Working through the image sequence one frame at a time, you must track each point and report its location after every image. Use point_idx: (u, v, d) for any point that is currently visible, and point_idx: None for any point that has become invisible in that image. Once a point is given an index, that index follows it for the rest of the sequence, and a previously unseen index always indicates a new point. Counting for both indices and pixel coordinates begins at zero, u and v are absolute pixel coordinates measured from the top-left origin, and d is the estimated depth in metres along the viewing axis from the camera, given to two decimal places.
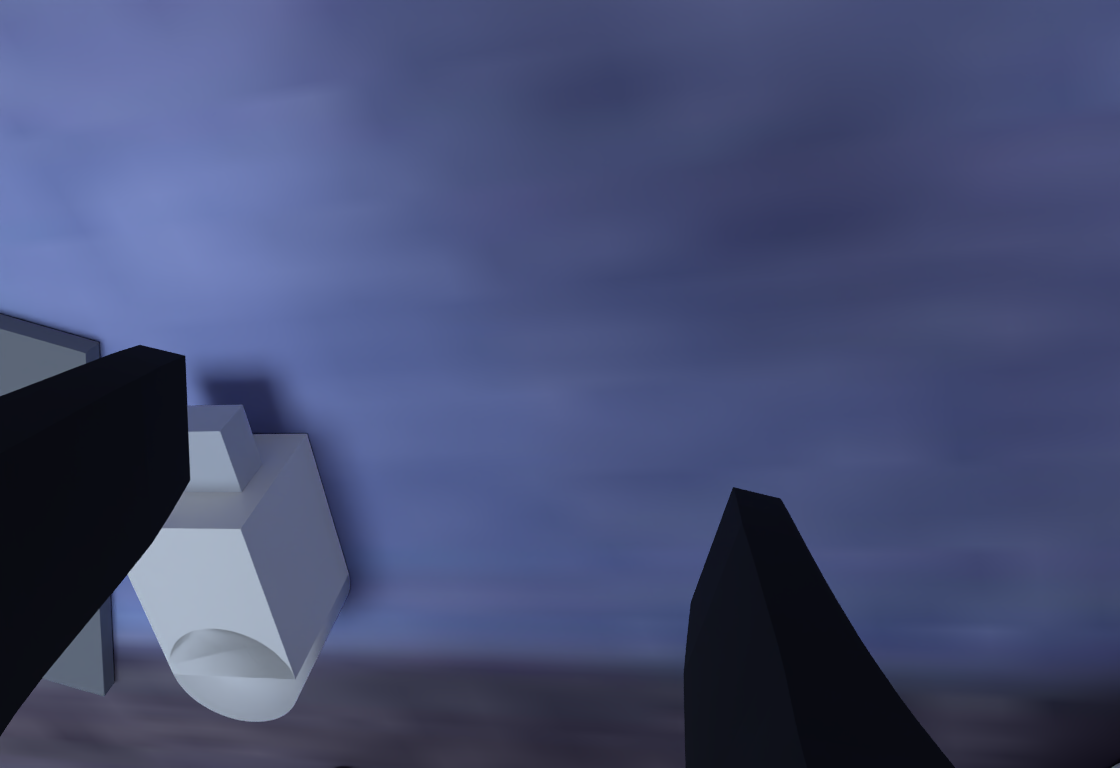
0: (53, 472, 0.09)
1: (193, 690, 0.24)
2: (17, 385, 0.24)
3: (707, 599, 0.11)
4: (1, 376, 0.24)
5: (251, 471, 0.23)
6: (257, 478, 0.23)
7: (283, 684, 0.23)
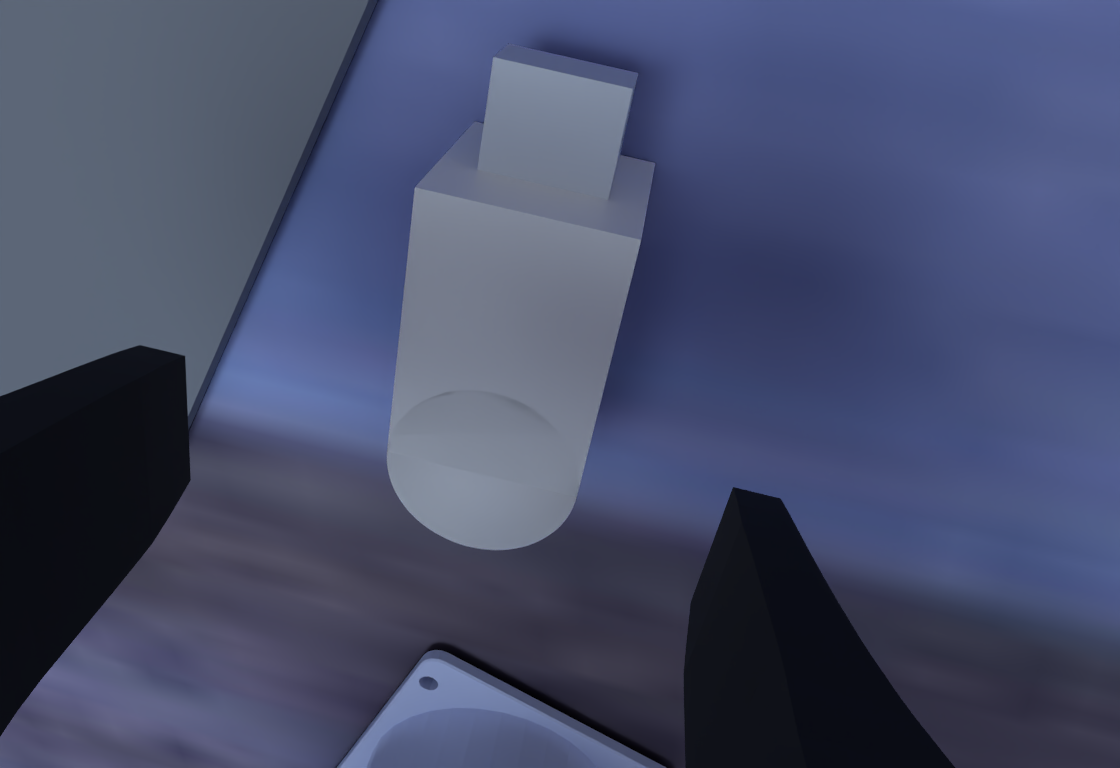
0: (53, 472, 0.09)
1: (404, 482, 0.16)
2: None
3: (707, 599, 0.11)
4: None
5: (614, 178, 0.15)
6: (619, 191, 0.15)
7: (553, 501, 0.16)
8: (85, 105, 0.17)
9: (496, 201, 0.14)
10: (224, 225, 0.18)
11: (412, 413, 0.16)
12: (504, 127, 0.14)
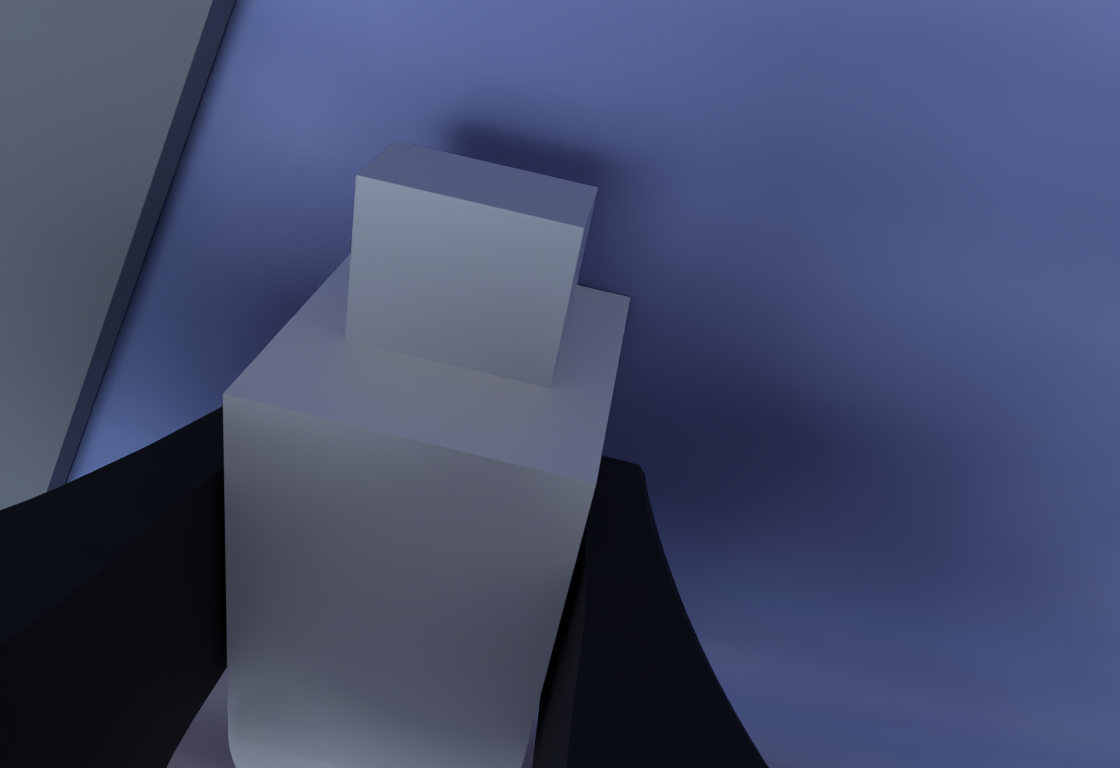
0: (220, 513, 0.09)
1: None
2: (16, 7, 0.10)
3: None
4: None
5: (562, 345, 0.10)
6: (571, 364, 0.10)
7: None
8: None
9: (359, 414, 0.08)
10: (22, 372, 0.13)
11: (259, 693, 0.10)
12: (382, 280, 0.09)
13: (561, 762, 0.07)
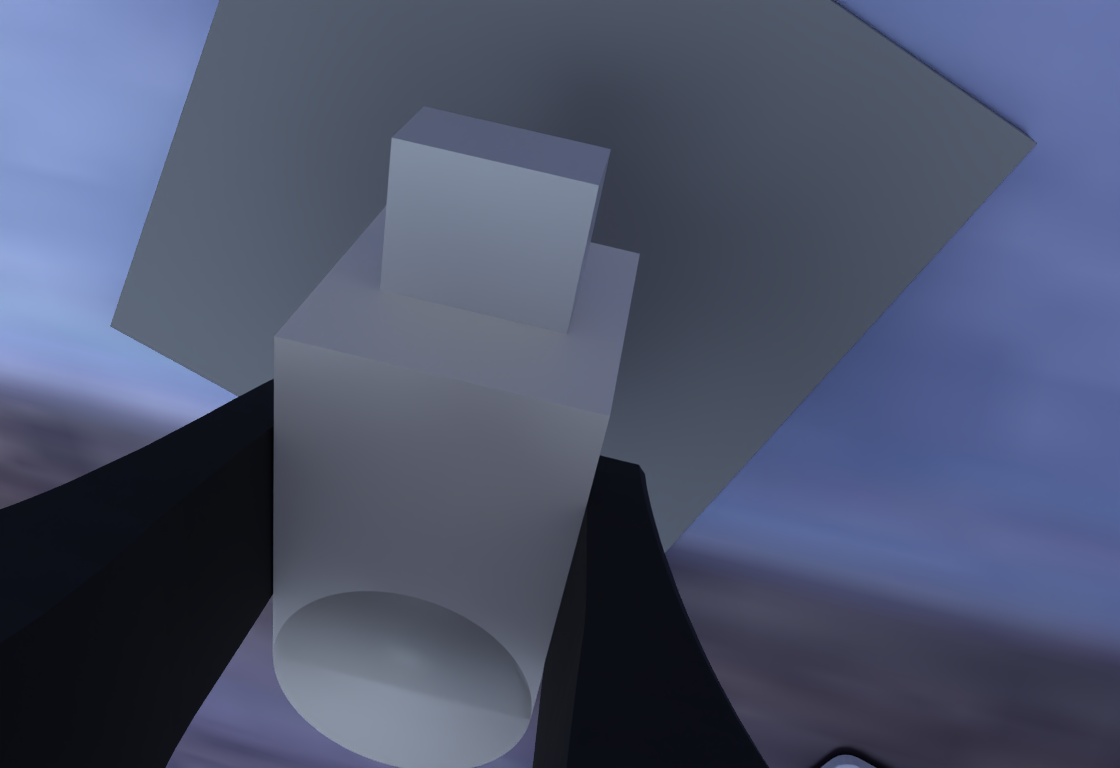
0: (219, 512, 0.09)
1: (300, 691, 0.12)
2: (882, 163, 0.16)
3: None
4: (871, 143, 0.16)
5: (577, 296, 0.11)
6: (586, 313, 0.11)
7: (498, 722, 0.12)
8: (661, 281, 0.18)
9: (396, 354, 0.09)
10: (767, 386, 0.19)
11: (301, 614, 0.11)
12: (414, 234, 0.10)
13: (561, 762, 0.07)
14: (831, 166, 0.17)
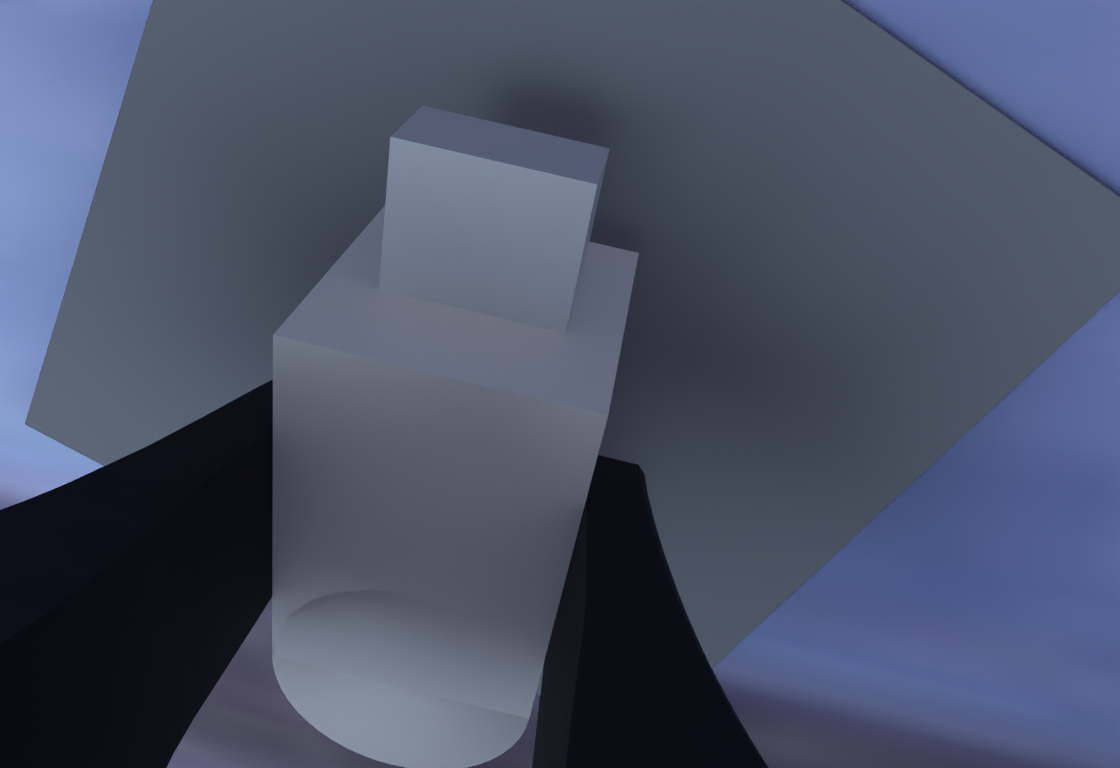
0: (220, 513, 0.09)
1: (299, 690, 0.12)
2: (975, 257, 0.13)
3: None
4: (963, 233, 0.13)
5: (576, 295, 0.11)
6: (585, 312, 0.11)
7: (497, 721, 0.12)
8: (691, 389, 0.15)
9: (393, 353, 0.09)
10: (818, 512, 0.16)
11: (300, 613, 0.11)
12: (413, 233, 0.10)
13: (560, 762, 0.07)
14: (911, 259, 0.13)
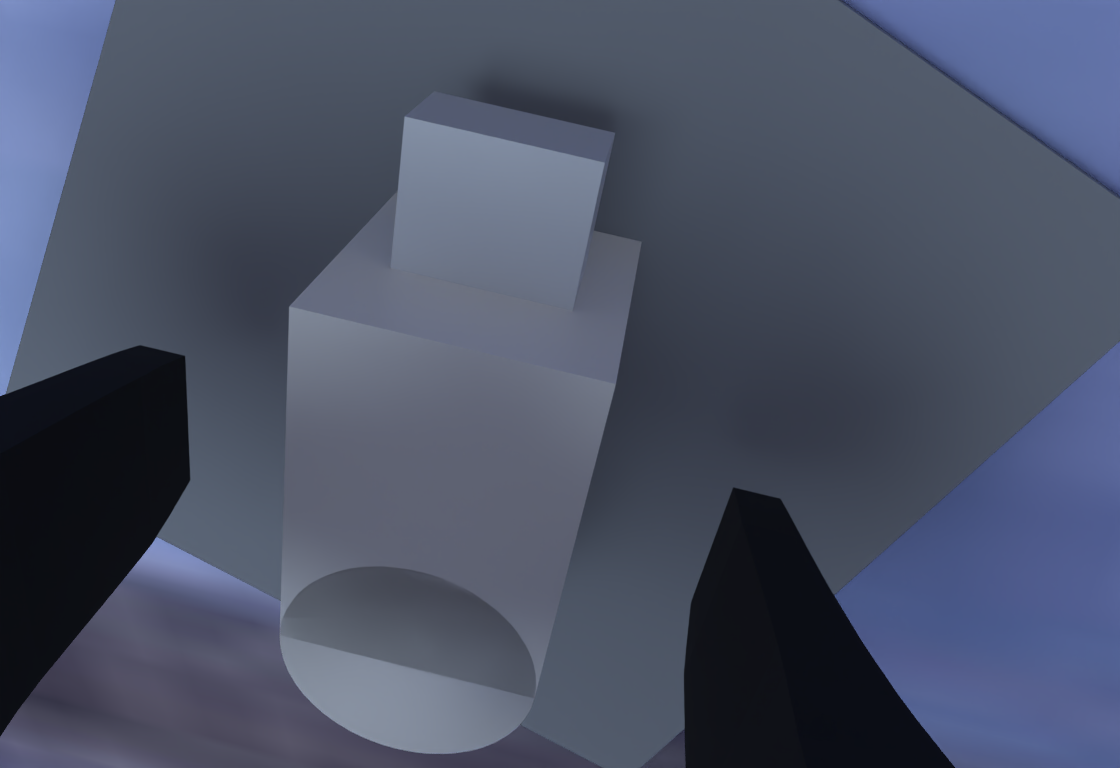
0: (53, 472, 0.09)
1: (305, 671, 0.12)
2: (992, 282, 0.12)
3: (707, 599, 0.11)
4: (979, 256, 0.12)
5: (582, 276, 0.11)
6: (590, 293, 0.11)
7: (502, 701, 0.12)
8: (689, 418, 0.14)
9: (407, 325, 0.09)
10: (823, 546, 0.15)
11: (309, 591, 0.11)
12: (425, 212, 0.10)
13: None
14: (923, 284, 0.12)
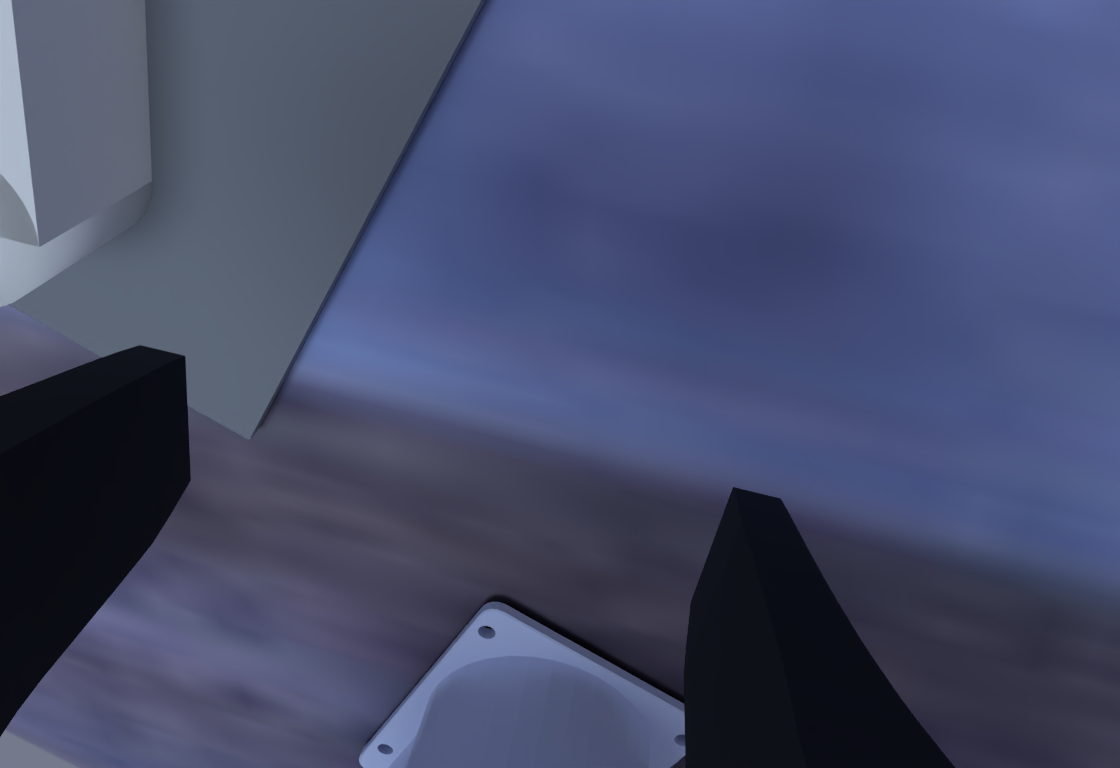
0: (53, 472, 0.09)
1: None
2: None
3: (707, 599, 0.11)
4: None
5: None
6: None
7: (20, 252, 0.17)
8: (210, 93, 0.19)
9: None
10: (330, 204, 0.20)
11: None
12: None
13: None
14: None
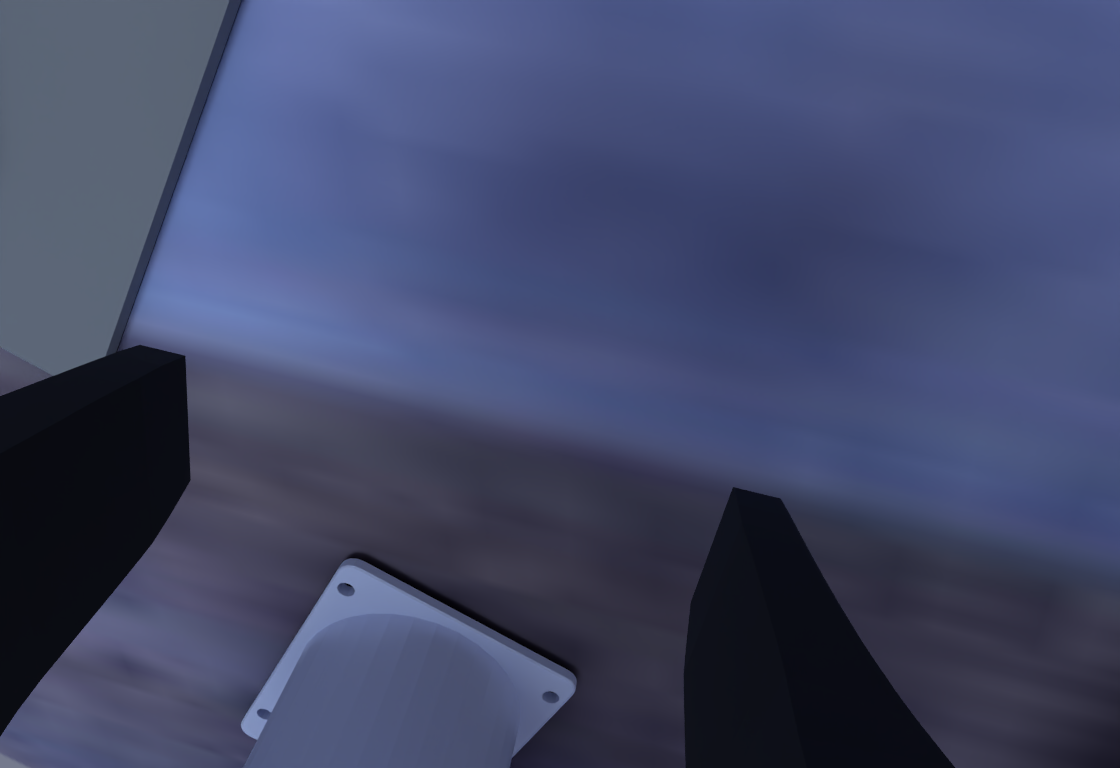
0: (53, 472, 0.09)
1: None
2: None
3: (707, 599, 0.11)
4: None
5: None
6: None
7: None
8: (7, 39, 0.19)
9: None
10: (136, 150, 0.20)
11: None
12: None
13: None
14: None
